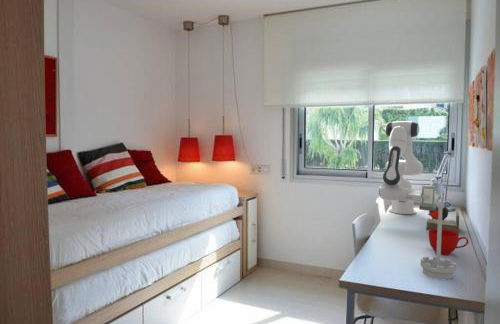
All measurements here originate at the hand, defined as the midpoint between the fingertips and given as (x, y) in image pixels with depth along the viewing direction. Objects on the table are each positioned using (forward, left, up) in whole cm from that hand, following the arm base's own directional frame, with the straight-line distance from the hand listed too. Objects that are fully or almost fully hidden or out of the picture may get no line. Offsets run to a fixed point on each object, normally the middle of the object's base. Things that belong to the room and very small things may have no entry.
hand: (429, 196), depth 231 cm
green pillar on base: (0, -1, -8) cm, 8 cm away
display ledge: (0, +8, -19) cm, 21 cm away
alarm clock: (-20, +6, -20) cm, 29 cm away
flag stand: (+87, +6, -20) cm, 89 cm away
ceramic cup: (+54, +10, -20) cm, 58 cm away
